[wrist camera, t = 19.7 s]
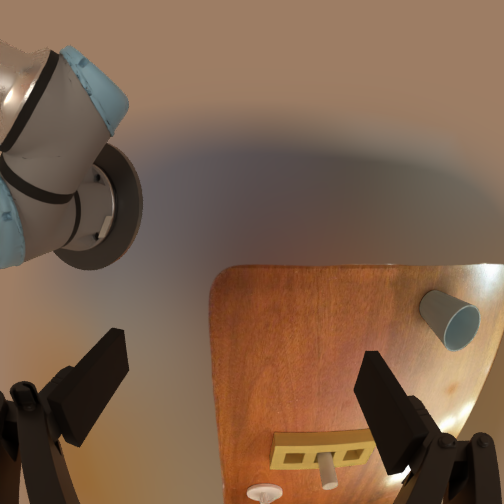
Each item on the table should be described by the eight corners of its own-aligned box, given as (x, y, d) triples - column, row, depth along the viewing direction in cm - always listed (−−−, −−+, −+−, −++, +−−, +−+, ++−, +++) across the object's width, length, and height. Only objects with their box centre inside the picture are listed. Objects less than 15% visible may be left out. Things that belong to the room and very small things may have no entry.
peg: (313, 448, 51) (320, 490, 39) (316, 440, 51) (324, 483, 39) (326, 448, 51) (335, 489, 39) (330, 440, 51) (340, 481, 39)
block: (361, 452, 52) (365, 464, 48) (269, 456, 52) (269, 469, 48) (373, 427, 50) (378, 440, 46) (274, 432, 50) (275, 446, 46)
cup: (453, 288, 43) (487, 310, 33) (437, 326, 44) (466, 353, 34) (424, 279, 43) (458, 300, 32) (407, 320, 44) (436, 348, 34)
